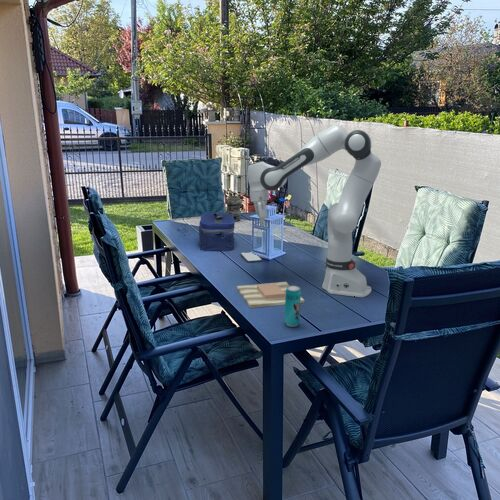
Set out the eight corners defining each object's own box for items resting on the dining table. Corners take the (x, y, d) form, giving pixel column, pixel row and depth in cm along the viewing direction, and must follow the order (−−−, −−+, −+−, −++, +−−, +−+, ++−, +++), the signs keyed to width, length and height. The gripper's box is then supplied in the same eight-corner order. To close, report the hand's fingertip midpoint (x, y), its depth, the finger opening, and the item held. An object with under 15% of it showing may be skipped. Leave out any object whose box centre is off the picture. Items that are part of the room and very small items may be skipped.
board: (236, 288, 225) (236, 285, 225) (285, 284, 232) (285, 281, 231) (250, 308, 203) (250, 305, 203) (304, 302, 209) (304, 300, 209)
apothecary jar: (237, 222, 357) (237, 198, 352) (222, 221, 361) (222, 197, 356) (243, 219, 368) (244, 195, 363) (229, 218, 372) (229, 194, 367)
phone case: (262, 262, 266) (254, 254, 280) (262, 260, 265) (254, 251, 280) (247, 264, 263) (239, 255, 278) (247, 261, 263) (239, 252, 277)
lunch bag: (237, 252, 283) (237, 218, 277) (200, 253, 280) (199, 218, 274) (231, 239, 312) (231, 207, 306) (198, 239, 309) (197, 208, 304)
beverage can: (293, 329, 184) (294, 291, 180) (281, 324, 188) (282, 288, 184) (302, 324, 188) (303, 287, 184) (290, 320, 192) (291, 284, 188)
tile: (275, 283, 222) (285, 293, 210) (275, 288, 222) (285, 298, 210) (256, 285, 219) (265, 295, 207) (256, 290, 220) (265, 300, 208)
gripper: (268, 197, 218) (271, 227, 220) (264, 194, 238) (267, 222, 240) (254, 199, 218) (258, 229, 220) (251, 196, 238) (254, 224, 240)
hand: (262, 225), depth 230 cm, fingers closed
